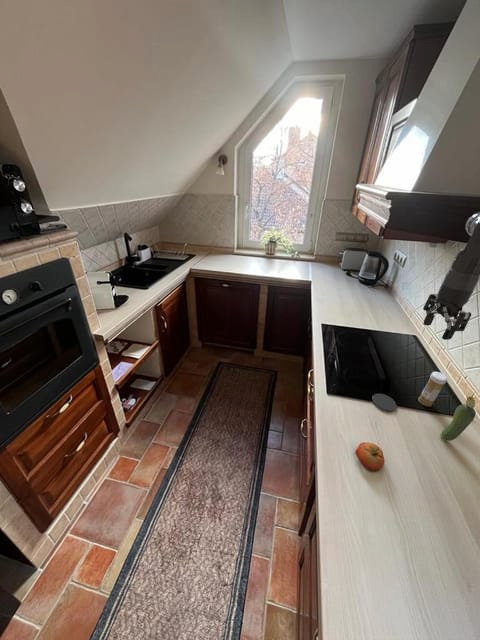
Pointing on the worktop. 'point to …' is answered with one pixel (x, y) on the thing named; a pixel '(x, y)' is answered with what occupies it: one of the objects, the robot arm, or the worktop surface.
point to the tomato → (370, 456)
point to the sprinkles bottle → (432, 388)
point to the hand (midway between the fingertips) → (435, 331)
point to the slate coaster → (384, 402)
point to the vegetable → (460, 420)
